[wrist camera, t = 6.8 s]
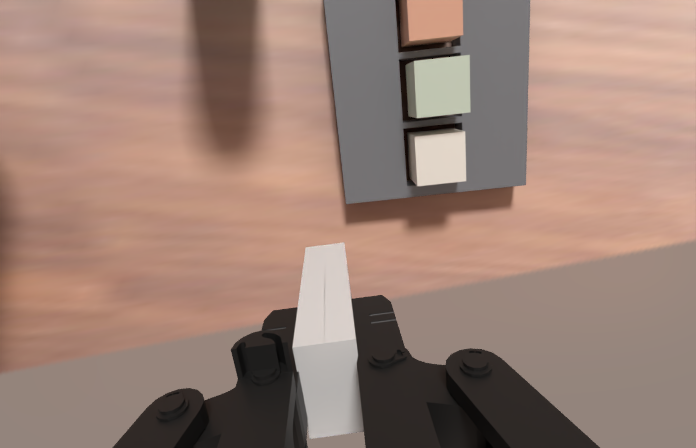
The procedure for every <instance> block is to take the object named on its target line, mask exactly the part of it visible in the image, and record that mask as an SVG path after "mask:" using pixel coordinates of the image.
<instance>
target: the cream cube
mask: <svg viewBox="0 0 696 448" xmlns="http://www.w3.org/2000/svg"><path fill="white" fill-rule="evenodd" d="M407 144H408V160H409V176H410V178H411V180H412V181H413V182H414V183H415V184H416V185H417V186H425V185H435V184H444V183H454V182H463V181H466V144H465V131H462V130H458V129H455V128H446V129H437V130H427V131H418V132H409V133H407Z"/></svg>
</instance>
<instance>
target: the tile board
mask: <svg viewBox="0 0 696 448" xmlns="http://www.w3.org/2000/svg"><path fill="white" fill-rule="evenodd" d="M324 7H325V16H326V25H327V35H328V44H329V53H330V62H331V71H332V80H333V89H334V99H335V108H336V117H337V126H338V135H339V144H340V154H341V163H342V172H343V181H344V190H345V199H346V204H351V203H361V202H370V201H380V200H389V199H399V198H408V197H417V196H427V195H436V194H446V193H455V192H465V191H474V190H483V189H493V188H502V187H512V186H521V185H526V156H527V113H528V70H529V28H530V0H463V35H462V36H460V37H458V38H457V39H455V40H453V41H452V47H445V48H436V49H427V50H418V51H409V52H400V53H398V38H397V23H396V7H395V0H324ZM464 55H470V111H471V112H470V113H461V114H454V115H450V116H441V117H432V118H423V119H413V120H404V121H403V117H402V101H401V86H400V70H399V61H407V60H416V59H425V58H434V57H443V56H453V57H454V56H464ZM452 123H454V125H455V129H458V130H462V131H465V144H466V181H463V182H454V183H444V184H435V185H425V186H417V185H416V184H415V183H414V182H413V181H412V180H408V181H407V180H406V164H405V149H404V133H403V129H406V128H415V127H424V126H433V125H443V124H452Z"/></svg>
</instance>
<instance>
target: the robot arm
mask: <svg viewBox="0 0 696 448" xmlns="http://www.w3.org/2000/svg"><path fill="white" fill-rule="evenodd" d="M231 352H232V356H233V360H234V364H235V368H236V372H237V376H238V381H237V384H236V387H235V388H234V389H232V390H230V391H228V392H226V393H224V394H221V395H219V396H216V397H213V398H210V399H208V400H204V397H203V395H202V394H201V393H200V392H199V391H198V390H195V389H191V388H186V389H178V390H175V391H172V392H169V393H167V394H165V395H163V396H162V397H160V398H158V399H157V400H155V401H154V402H153V403H152V404H151V405H150V406H149V407H147V408H146V410H145V411H144V412H143V413H142V414H141V415H140V416H139V418H138V419H137V420H136V421H135V422H134V424H133V425H132V426H131V427H130V428H129V429H128V431H127V432H126V433H125V434H124V435H123V436H122V437H121V439H120V440H119V441H118V442H117V443H116V444H115V446H114V447H113V448H308V446H307V441H306V438H307V427H308V432H309V438H310V439H312V438H320V437H328V436H335V435H342V434H350V433H357V432H364V435H365V445H366V448H600V447H599V446H598V445H596V444H595V443H594V442H593V441H592V440H591V439H590V438H589V437H588V436H587V435H585V434H584V433H583V432H582V431H581V430H580V429H579V428H578V427H577V426H575V425H574V424H573V423H572V422H571V421H570V420H569V419H568V418H567V417H565V416H564V415H563V414H562V413H561V412H560V411H559V410H558V409H557V408H555V407H554V406H553V405H552V404H551V403H550V402H549V401H548V400H547V399H546V398H545V397H543V396H542V395H541V394H540V393H539V392H538V391H537V390H536V389H534V388H533V387H532V386H531V385H530V384H529V383H528V382H527V381H526V380H525V379H523V378H522V377H521V376H520V375H519V374H518V373H517V372H516V371H515V370H514V369H512V368H511V367H510V366H509V365H508V364H507V363H506V362H505V361H504V360H502V359H501V358H500V357H498V356H497V355H495V354H494V353H492V352H488V351H485V350H482V349H464V350H459V351H457V352H455V353H453V354H452V355H450V357H449V358H448V359H447V360H446V365H437V364H429V363H424V362H422V361H418V360H416V359H415V358H413V357H412V356H411V354H410V353H409V351H408V350H407V349H406V348H405V347H404V344H403V340H402V337H401V334H400V330H399V327H398V324H397V321H396V317H395V314H394V311H393V308H392V304H391V302H390V301H389V300H388V299H386V298H385V297H384V296H383V295H378V296H371V297H363V298H355V299H352V297H351V289H350V282H349V274H348V267H347V259H346V251H345V244H344V243H336V244H328V245H321V246H313V247H306V250H305V257H304V265H303V272H302V280H301V287H300V295H299V302H298V307H297V308H289V309H282V310H274V311H272V312H271V313H270V314H269V316H268V317H267V318H266V319H265V320H264V323H263V327H262V331H259V332H254V333H251V334H249V335H247V336H245V337H243V338H241V339H240V340H239V341H237V342H236V343H235V344H234V346H233V347H232V349H231Z"/></svg>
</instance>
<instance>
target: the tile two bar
mask: <svg viewBox="0 0 696 448" xmlns="http://www.w3.org/2000/svg"><path fill="white" fill-rule="evenodd" d="M405 67H406V84H407V101H408V116H410V117H414V118H424V117H433V116H442V115H451V114H461V113H470V112H471V111H470V55H464V56H454V57H445V58H436V59H427V60H418V61H413V62H411V63H409V64H407V65H405Z"/></svg>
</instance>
